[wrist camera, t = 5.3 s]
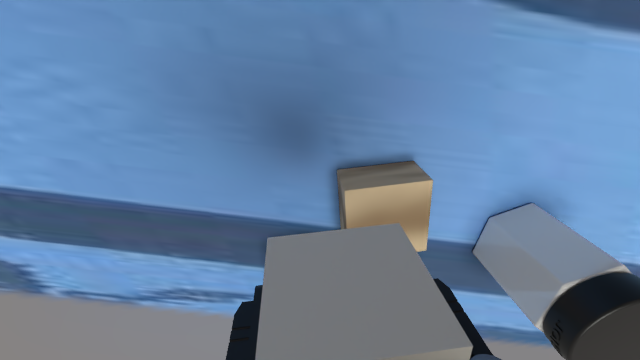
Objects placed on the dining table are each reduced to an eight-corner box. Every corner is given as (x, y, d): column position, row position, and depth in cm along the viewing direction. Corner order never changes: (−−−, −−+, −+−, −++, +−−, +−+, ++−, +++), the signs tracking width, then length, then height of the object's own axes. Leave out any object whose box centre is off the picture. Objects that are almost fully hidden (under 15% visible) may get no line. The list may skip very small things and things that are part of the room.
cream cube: (267, 237, 11) (253, 376, 6) (399, 223, 11) (473, 346, 7) (283, 328, 13) (281, 479, 9) (393, 314, 13) (446, 452, 9)
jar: (457, 243, 31) (545, 350, 21) (521, 189, 29) (656, 278, 18) (503, 279, 35) (599, 388, 24) (563, 232, 32) (701, 330, 22)
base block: (336, 169, 26) (344, 190, 23) (413, 160, 27) (432, 180, 23) (341, 233, 29) (348, 260, 26) (409, 224, 30) (426, 250, 26)
